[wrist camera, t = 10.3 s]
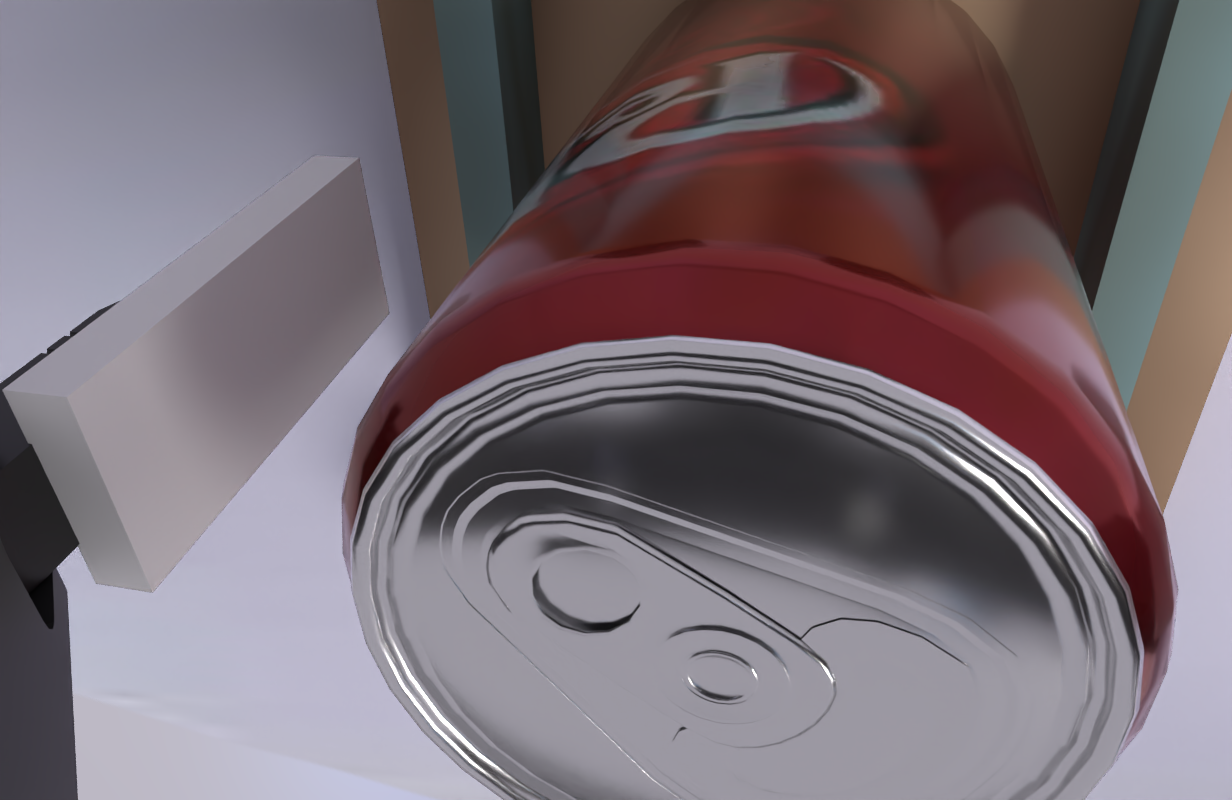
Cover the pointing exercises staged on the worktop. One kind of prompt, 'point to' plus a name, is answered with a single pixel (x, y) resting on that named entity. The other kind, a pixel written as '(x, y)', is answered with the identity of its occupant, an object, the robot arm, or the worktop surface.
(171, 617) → the worktop surface
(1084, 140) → the chassis
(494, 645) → the soda can
